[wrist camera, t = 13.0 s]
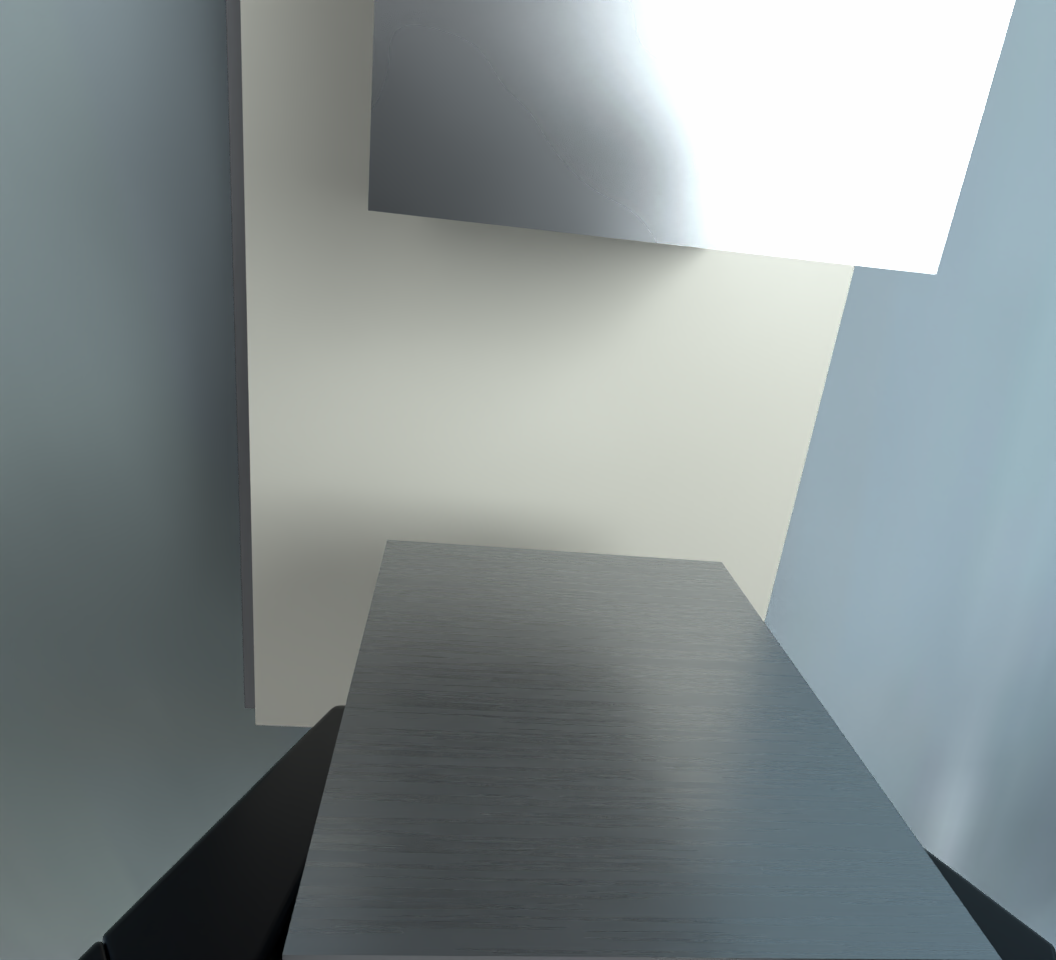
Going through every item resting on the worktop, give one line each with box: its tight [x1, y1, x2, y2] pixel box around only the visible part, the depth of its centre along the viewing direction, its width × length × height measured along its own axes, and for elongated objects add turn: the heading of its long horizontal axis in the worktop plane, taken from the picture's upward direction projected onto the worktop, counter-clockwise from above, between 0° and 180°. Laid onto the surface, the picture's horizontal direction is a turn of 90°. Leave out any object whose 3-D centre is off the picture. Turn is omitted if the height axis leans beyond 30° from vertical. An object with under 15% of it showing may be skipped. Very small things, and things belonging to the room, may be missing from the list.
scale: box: [226, 0, 855, 727], centre depth 9 cm, size 9×17×8 cm, turn 174°
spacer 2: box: [282, 540, 1002, 960], centre depth 7 cm, size 4×4×5 cm
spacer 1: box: [368, 0, 1015, 274], centre depth 7 cm, size 4×4×5 cm
